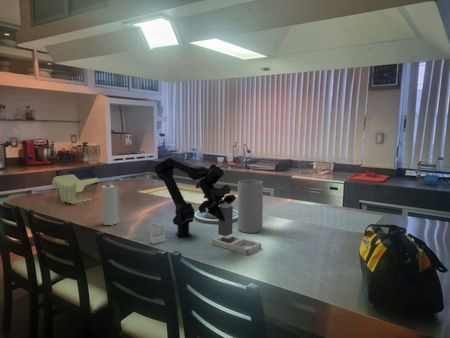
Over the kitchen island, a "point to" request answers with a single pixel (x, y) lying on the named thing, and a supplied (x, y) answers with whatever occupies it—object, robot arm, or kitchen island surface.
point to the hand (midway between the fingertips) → (227, 219)
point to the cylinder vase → (250, 206)
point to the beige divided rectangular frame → (236, 244)
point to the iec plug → (227, 213)
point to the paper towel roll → (110, 204)
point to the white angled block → (156, 233)
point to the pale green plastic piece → (71, 187)
